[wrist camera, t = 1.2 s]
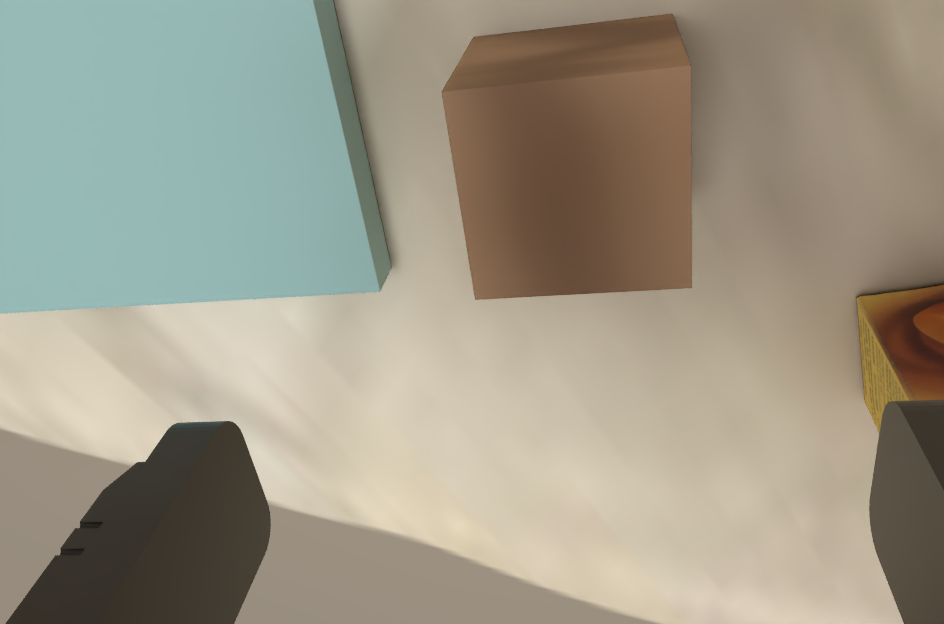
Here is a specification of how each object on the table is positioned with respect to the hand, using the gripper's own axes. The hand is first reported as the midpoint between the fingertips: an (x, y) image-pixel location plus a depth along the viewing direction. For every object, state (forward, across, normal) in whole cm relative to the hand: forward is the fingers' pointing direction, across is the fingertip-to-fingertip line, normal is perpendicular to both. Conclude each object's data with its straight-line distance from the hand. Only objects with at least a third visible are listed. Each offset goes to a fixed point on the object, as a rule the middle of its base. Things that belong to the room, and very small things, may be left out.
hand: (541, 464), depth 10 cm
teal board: (+14, +13, -3) cm, 19 cm away
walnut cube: (+14, 0, 0) cm, 14 cm away
